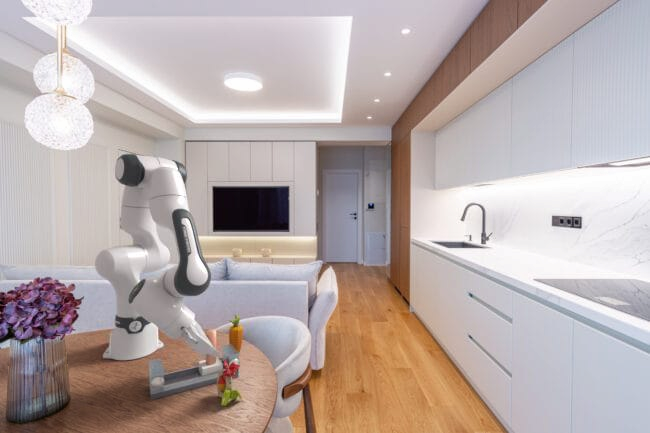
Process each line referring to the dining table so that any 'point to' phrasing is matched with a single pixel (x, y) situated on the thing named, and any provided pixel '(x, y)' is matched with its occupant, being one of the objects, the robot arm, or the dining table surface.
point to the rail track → (185, 376)
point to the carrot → (236, 334)
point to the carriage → (210, 357)
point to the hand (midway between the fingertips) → (213, 348)
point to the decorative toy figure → (227, 383)
